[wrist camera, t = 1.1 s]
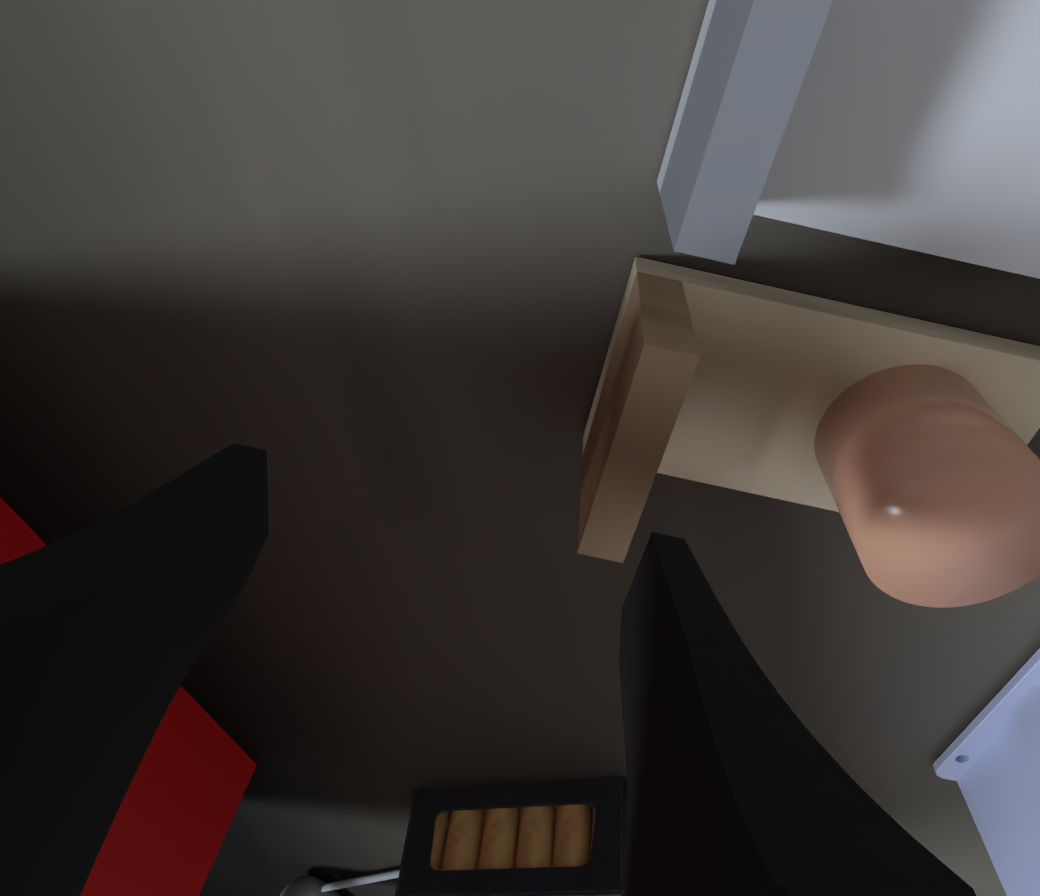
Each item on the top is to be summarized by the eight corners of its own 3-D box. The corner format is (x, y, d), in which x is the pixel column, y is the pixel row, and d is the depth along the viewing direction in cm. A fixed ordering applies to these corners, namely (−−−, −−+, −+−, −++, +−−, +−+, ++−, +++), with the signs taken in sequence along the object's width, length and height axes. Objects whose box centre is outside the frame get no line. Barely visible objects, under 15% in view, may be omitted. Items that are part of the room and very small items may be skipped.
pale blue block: (1103, 282, 18) (1271, 384, 14) (656, 181, 18) (673, 251, 14) (1287, 18, 15) (1589, 36, 10) (740, -110, 15) (802, -150, 10)
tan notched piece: (944, 513, 23) (1030, 650, 18) (583, 435, 23) (577, 553, 18) (1057, 350, 20) (1198, 465, 15) (635, 256, 19) (644, 344, 15)
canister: (933, 511, 21) (1001, 623, 18) (789, 480, 21) (828, 586, 18) (1018, 384, 19) (1120, 483, 15) (857, 348, 19) (919, 439, 15)
